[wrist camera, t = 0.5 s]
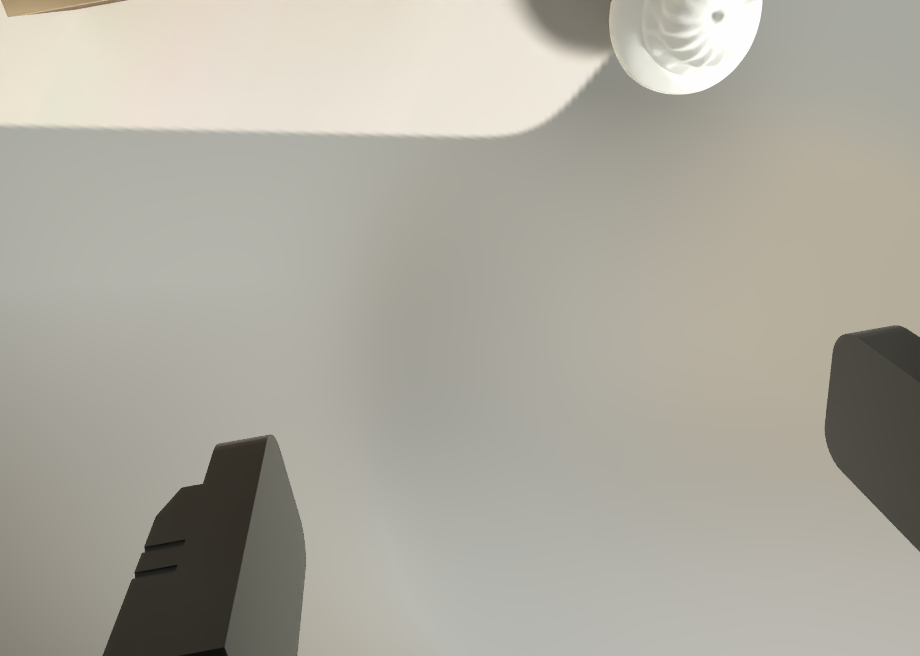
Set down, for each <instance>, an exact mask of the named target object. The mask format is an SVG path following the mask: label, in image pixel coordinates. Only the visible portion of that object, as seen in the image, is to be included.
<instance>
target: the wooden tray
mask: <svg viewBox="0 0 920 656" xmlns="http://www.w3.org/2000/svg"><path fill="white" fill-rule="evenodd" d="M1 1H2V4H3V6H4V8H5V11H6V13H7V16H8V17H12V16H21V15H30V14H39V13H48V12H57V11H67V10H75V9H81V8H86V7H92V6H98V5H103V4H109V3H114V2H120V1H125V0H1Z"/></svg>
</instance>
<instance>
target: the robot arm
mask: <svg viewBox="0 0 920 656" xmlns="http://www.w3.org/2000/svg"><path fill="white" fill-rule="evenodd" d="M825 437H826V442H827V446H828V448H829V452H830V454H831V456H832V458H833V460H834V462H835V463H836V465H837V466H838V468H839V469H840V470H841V471H842V472H843V473H844V474H845V475H846V476H847V477H848V478H849V479H850V480H851V481H852V482H853V483H854V484H855V485H856V486H857V487H858V489H859V490H860V491H861V492H862V493H863V494H864V495H865V496H866V497H867V498H868V499H869V500H870V501H871V502H872V503H873V504H874V505H875V506H876V507H877V508H878V509H879V510H880V511H881V512H882V513H883V514H884V515H885V516H886V517H887V518H888V519H889V521H890V522H891V523H892V524H893V525H894V526H895V527H896V528H897V529H898V530H899V531H900V532H901V533H902V534H903V535H904V536H905V537H906V538H907V539H908V540H909V541H910V542H911V543H912V544H913V545H914V546H915V547H916V548H917V549H918V550H919V551H920V337H918V336H917V335H915V334H914V333H912V332H911V331H909V330H908V329H906V328H904V327H901V326H889V327H883V328H878V329H872V330H866V331H861V332H855V333H849V334H845V335H842V336H840V337H839V338H838V340H837V341H836V343H835V345H834V349H833V355H832V364H831V373H830V383H829V392H828V401H827V410H826V419H825ZM305 568H306V552H305V541H304V534H303V528H302V524H301V520H300V516H299V513H298V509H297V506H296V503H295V500H294V496H293V493H292V489H291V486H290V482H289V479H288V476H287V472H286V469H285V466H284V462H283V459H282V455H281V452H280V449H279V446H278V443H277V441H276V439H275V437H274V436H273V435H266V436H260V437H255V438H249V439H243V440H237V441H232V442H226V443H220V444H217V445H216V446H215V448H214V451H213V454H212V457H211V460H210V463H209V466H208V470H207V473H206V476H205V479H204V482H203V484H200V485H194V486H189V487H183V488H181V489H180V490H179V491H178V492H177V493H176V495H175V496H174V497H173V498H172V499H171V500H170V501H169V503H168V504H167V505H166V506H165V507H164V508H163V509H162V510H161V511H160V512H159V514H158V515H157V516H156V518H155V520H154V523H153V526H152V528H151V531H150V534H149V536H148V539H147V541H146V544H145V553H142V554H141V557H140V559H139V562H138V565H137V567H136V570H135V579H132V581H131V583H130V586H129V588H128V591H127V594H126V596H125V599H124V602H123V604H122V607H121V609H120V612H119V614H118V617H117V620H116V622H115V625H114V627H113V630H112V633H111V635H110V638H109V640H108V643H107V646H106V648H105V651H104V654H103V656H297V651H298V640H299V631H300V620H301V610H302V599H303V590H304V579H305Z"/></svg>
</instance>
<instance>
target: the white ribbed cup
mask: <svg viewBox="0 0 920 656" xmlns="http://www.w3.org/2000/svg"><path fill="white" fill-rule="evenodd" d="M761 9H762V0H612V1H611V7H610V14H609V32H610V38H611V43H612V46H613V49H614V52H615V54H616V57H617V59H618V61H619V62H620V64H621V66H622V67H623V68H624V70H625V71H626V72H627V74H628V75H629V76H630V77H631V78H632V79H634V80H635V81H636V82H637V83H639V84H641V85H642V86H644V87H646V88H648V89H650V90H653V91H656V92H660V93H666V94H690V93H694V92H699V91H702V90H704V89H707V88H709V87H711V86H713V85H715V84H716V83H718V82H720V81H721V80H722V79H724V78H725V77H726V76H727V75H728V74H730V73H731V72H732V71H733V70H734V69H735V68H736V67H737V65H738V64H739V63H740V62H741V60H742V59H743V58H744V56H745V55H746V53H747V52H748V50H749V48H750V46H751V44H752V42H753V40H754V37H755V35H756V32H757V28H758V25H759V21H760V17H761Z"/></svg>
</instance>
